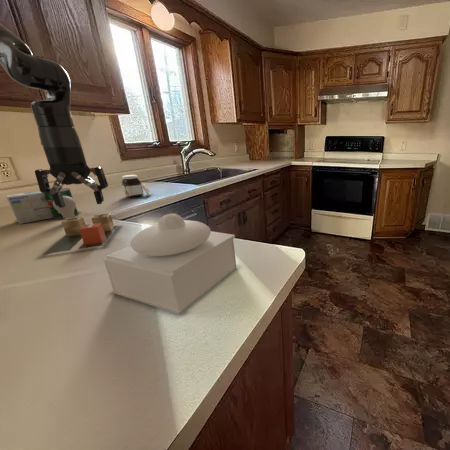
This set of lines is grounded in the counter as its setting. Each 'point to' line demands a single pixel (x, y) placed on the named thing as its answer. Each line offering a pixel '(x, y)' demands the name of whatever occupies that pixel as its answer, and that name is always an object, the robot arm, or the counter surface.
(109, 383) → the counter surface
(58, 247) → the dark green flat slab
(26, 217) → the light bulb box
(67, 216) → the lightbulb
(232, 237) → the butter dish
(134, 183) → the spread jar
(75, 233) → the tan wooden cube
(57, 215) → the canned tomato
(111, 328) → the counter surface
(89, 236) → the orange block
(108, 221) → the tan wooden block
